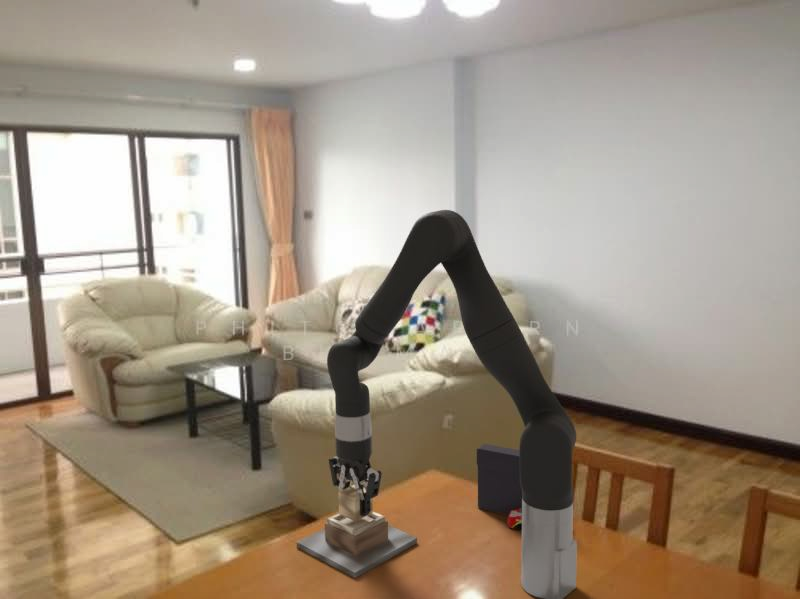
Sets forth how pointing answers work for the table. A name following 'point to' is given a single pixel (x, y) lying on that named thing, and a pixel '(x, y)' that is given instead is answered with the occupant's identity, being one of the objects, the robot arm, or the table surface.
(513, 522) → the race car
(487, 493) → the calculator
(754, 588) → the table surface
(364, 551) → the plate
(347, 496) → the maple cube
